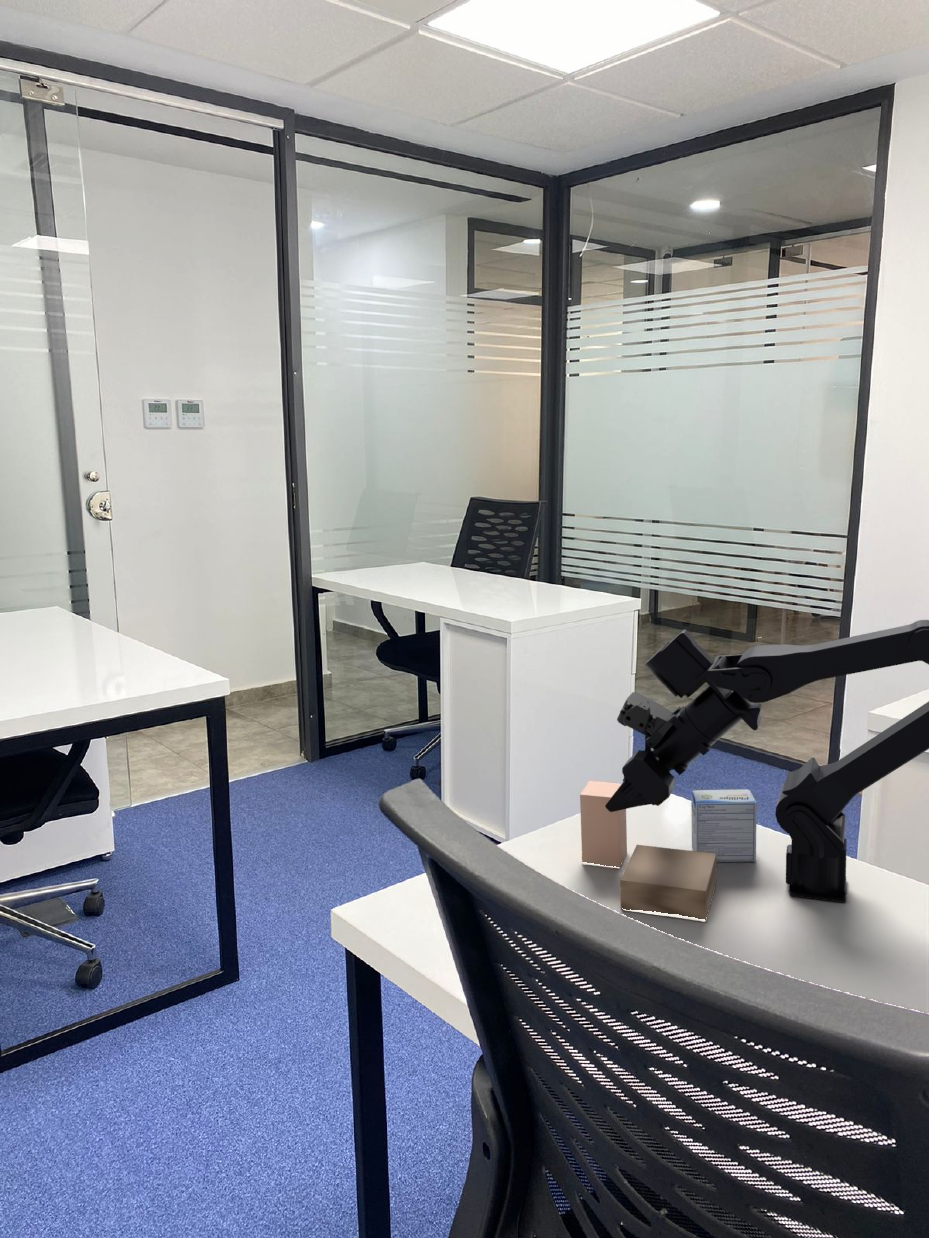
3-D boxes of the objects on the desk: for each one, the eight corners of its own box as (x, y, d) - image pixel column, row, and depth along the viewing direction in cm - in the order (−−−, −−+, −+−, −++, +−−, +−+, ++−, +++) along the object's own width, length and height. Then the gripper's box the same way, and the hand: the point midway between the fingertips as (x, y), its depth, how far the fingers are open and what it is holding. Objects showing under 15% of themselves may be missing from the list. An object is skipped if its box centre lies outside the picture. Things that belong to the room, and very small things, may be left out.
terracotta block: (627, 852, 127) (625, 783, 125) (619, 869, 122) (617, 797, 120) (591, 848, 129) (589, 780, 127) (582, 864, 124) (580, 794, 122)
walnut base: (716, 882, 117) (716, 853, 116) (705, 922, 108) (705, 890, 107) (637, 872, 121) (636, 844, 120) (621, 910, 112) (620, 879, 111)
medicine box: (750, 848, 126) (750, 788, 124) (756, 863, 122) (757, 801, 120) (691, 848, 127) (690, 789, 125) (695, 863, 123) (695, 802, 121)
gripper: (670, 658, 126) (593, 729, 132) (639, 696, 109) (552, 775, 116) (729, 718, 124) (648, 787, 131) (707, 766, 107) (615, 842, 114)
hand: (616, 795), depth 123 cm, fingers open, 9 cm apart
